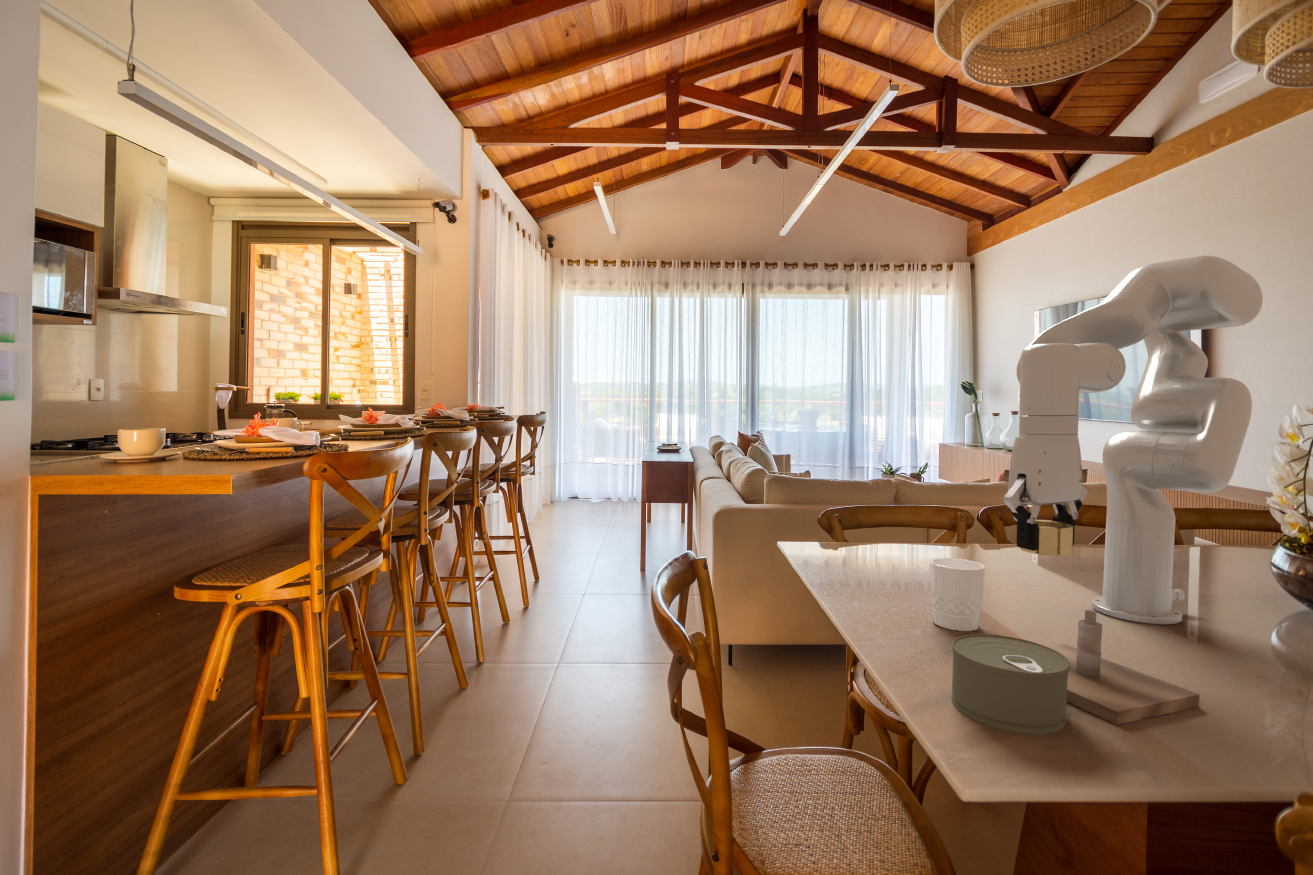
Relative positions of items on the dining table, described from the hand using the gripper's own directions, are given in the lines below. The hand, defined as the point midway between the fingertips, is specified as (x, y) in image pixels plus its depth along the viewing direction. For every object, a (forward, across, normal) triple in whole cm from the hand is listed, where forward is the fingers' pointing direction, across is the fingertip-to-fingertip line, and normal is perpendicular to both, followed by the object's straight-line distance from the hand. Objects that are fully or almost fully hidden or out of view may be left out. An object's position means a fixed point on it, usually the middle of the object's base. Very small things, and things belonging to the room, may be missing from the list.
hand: (1045, 545), depth 97 cm
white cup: (+15, +7, -10) cm, 19 cm away
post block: (+14, +9, +14) cm, 22 cm away
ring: (+1, 0, 0) cm, 1 cm away
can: (+14, +25, +15) cm, 32 cm away
